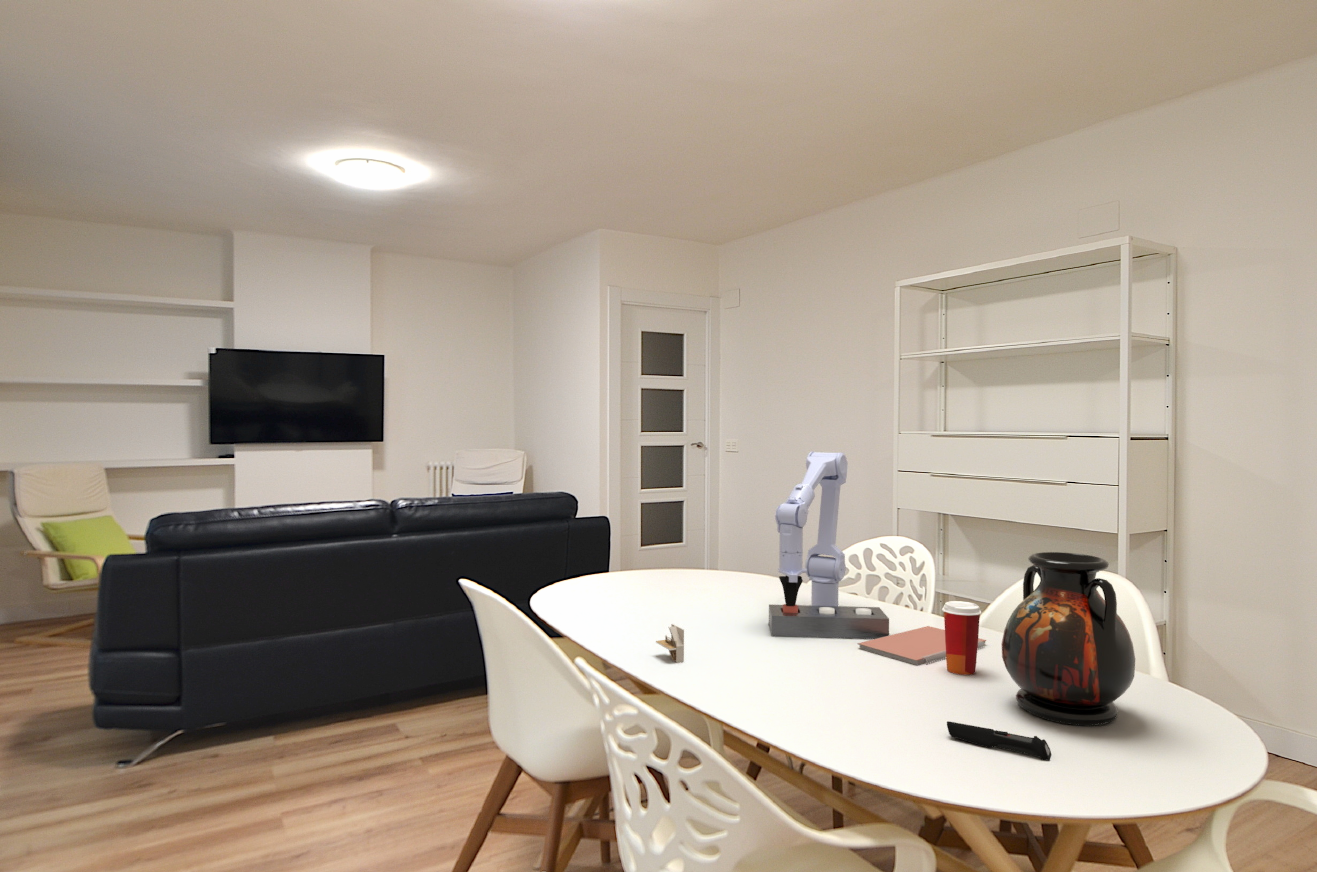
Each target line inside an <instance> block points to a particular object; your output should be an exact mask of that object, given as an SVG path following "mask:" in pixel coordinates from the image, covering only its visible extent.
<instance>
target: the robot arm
mask: <svg viewBox="0 0 1317 872" xmlns="http://www.w3.org/2000/svg"><path fill="white" fill-rule="evenodd" d="M805 459H806V460H805V466H806V467H805V468H806V472H805V473H804V476H803V478H802V480H801V483H798V484H796V485H795V486H794V487H793V489H792V491H791V492H790V494H789V496H788V497H787V499H786V501H785V502H784V503H781V504H780V505H777V508H776V510H775V523H776V526H777V529H776V530H777V532H778V533H779V542H778V543H779V552H778V553H779V555H778V556H779V559H778V560H779V567H778V570H777V571H778V573H779V574H781V575H780V576H778V579H779V581H780V583H781V586H782V590H783V591H782V592H783V595H784V602H785V603H784V604H786V606H795V604H796V603H797V598H798V593H799V590H800V588H801V586H802V583H803V582H804V580H803V577H802V574H804V573H805V574H806V576H807V577H808V578H809V581H811V601H810V602H811V605H810V606H839V586H840V585H839V583H840V582H841V581H842V580H843V579H844V578H845V575H846V571H847V570H846V568H847V567H846V554H845V553H844V552H843V550H841V549H840V548H839V547H838V546H837V542H836V541H837V529H838V520H839V509H840V508H839V506H840V495H841V487H842V485H844V484H846V482H847V481H846V480H847V475H848V461H847V457H846V454H845V453H844V452H823V451H820V452H819V451H810V452H809V453H808V454H807V457H806V458H805ZM819 485H820V486H821V494H820V495H821V496H820V508H819V520H818V530H817V531H818V532H817V539H816V540H817V542H816V544H815V545H814V546H812V547H811V548H809V549H808V551H807V556H806V560H805V563H804V568H803V553H804V552H803V546H804V545H803V543H804V541H803V540H804V538H803V537H804V532H803V531H804V530H803V529H804V527H805V526H806V523H807V521H808V515H809V512H810V511H809V508H810V506H811V504H812V503H813V501H814V499H815V497H816V496H815V495H816V494H815V489H816V487H817V486H819ZM824 555H825V556H824ZM832 556H833V557H832ZM796 605H797V604H796Z"/></svg>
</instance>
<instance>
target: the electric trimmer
mask: <svg viewBox="0 0 1317 872" xmlns="http://www.w3.org/2000/svg"><path fill="white" fill-rule="evenodd" d="M946 726H947V727H946V728H947V731H948V735H949V736H950V737H952V738H956V739H959V740H961V741H965V742H968V743H972V744H975V745H978V746H981V747H985V748H987V749H988V748H990V749H993V748H998V749H1003V750H1006V751H1011V752H1015V753H1020V754H1025V755H1029V756H1033V757H1037V758H1040V760H1041V761H1046V760H1047V761H1051V757H1052V751H1051V748H1050V746H1049V744H1048V742H1047V741H1046V739H1044V738H1043V739H1041V738H1040V737H1038V736H1037V735H1034V736H1033V737H1030V736H1025V735H1020V734H1015V733H1010V732H1008V731H1002V730H998V729H996V730H994V729H993V728H990V727H989V728H988V727H981V726H978V725H972V724H966V723H961V722H955V721H946Z"/></svg>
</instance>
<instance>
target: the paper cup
mask: <svg viewBox="0 0 1317 872" xmlns="http://www.w3.org/2000/svg"><path fill="white" fill-rule="evenodd" d="M980 608H981V607H980V606H979V605H978V604H976V603H974V602H968V601H960V600H952V601H946V602H945V604H944V605H943V607H942V609H941V611H942V612H943V617H944V620H943V621H944V630H945V644H946V657H945V661H946V670H947V672H949V673H951V674H955V675H961V676H972V675H974V674H975V673H976V667H977V655H978V649H977V648H978V638H979V632H980V629H979V628H980V619H981V617H980V616H981V614H982V611H981V609H980Z"/></svg>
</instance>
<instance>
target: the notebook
mask: <svg viewBox="0 0 1317 872" xmlns="http://www.w3.org/2000/svg"><path fill="white" fill-rule="evenodd" d="M986 642H987V639H983V638H979V637H978V648H977V651H978V650H981V649H984V648H985V646H986ZM857 645H859V649H860V650H863V651H867V652H870V653H873V654H876V655H880V656H883V657H887V658H891V659H893V660H897V661H901V662H904V663H906V664H907V663H908V664H911V665H914V666H921V665H923V664H926V665H930V664H934V663H936V662H940V661H941V662H942V661H944V660H945V661H946V644H945V629H942V628H938V627H934V626H930V625H926V626H923V627H918V628H915V629H914V628H913V629H911V630H906V631H901V632H898V633H893V634H889V636H885V637H881V638H877V639H868V640H866V641H861V642H858V643H857Z"/></svg>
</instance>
